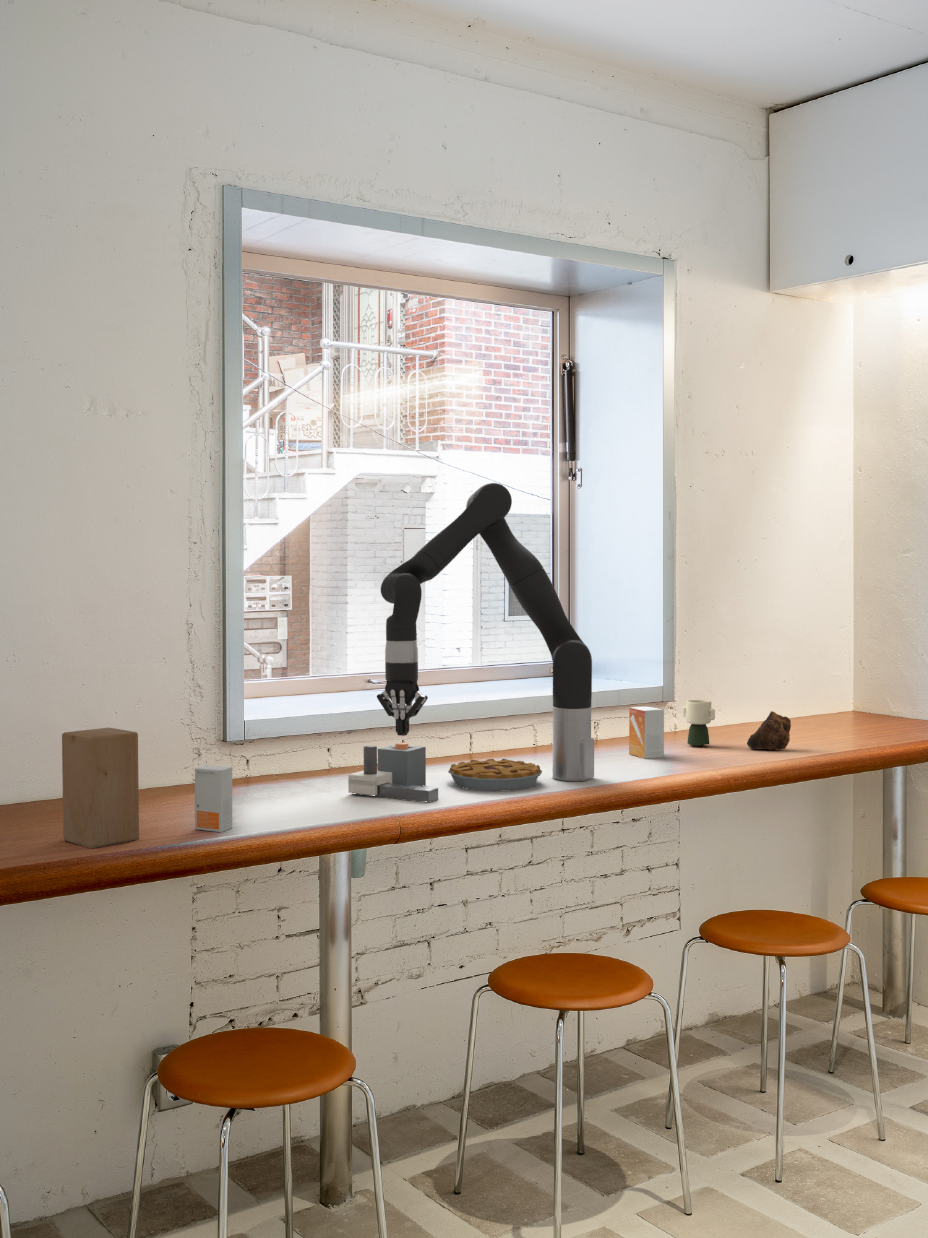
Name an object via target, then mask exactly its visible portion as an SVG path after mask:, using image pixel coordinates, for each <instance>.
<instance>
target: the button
mask: <svg viewBox="0 0 928 1238" xmlns="http://www.w3.org/2000/svg"><path fill="white" fill-rule="evenodd" d="M394 745H395V749H404V750H405V749H408V745H409V743H408V742H397V743H395V744H394Z"/></svg>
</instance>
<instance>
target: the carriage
mask: <svg viewBox="0 0 928 1238" xmlns="http://www.w3.org/2000/svg"><path fill="white" fill-rule="evenodd" d="M347 776H348V781H347V782H348V783H347V784H348V787H347V788H348V793H349V794H350V793H351V794H352V793H358V794H367V795H377V786H378V785H381V784H384V783H392V772H383V771H378V746H377V745H364V746H363V770H361V771H357V772H353V773H350V774H348V775H347Z"/></svg>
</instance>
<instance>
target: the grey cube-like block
mask: <svg viewBox="0 0 928 1238" xmlns="http://www.w3.org/2000/svg"><path fill="white" fill-rule="evenodd" d="M426 749H427V747H426V746H423V745H421V746H420V745H411V744H410V745H409V744H408V749H405V750H404V749H395V744H393V745H392V744H391V745H388V746H384V747H379V748H377V771H383V772H392V783H395V784H405V785H415V786H423V785H425V786H426V784H427V782H426V781H427V778H426V777H427V775H426V774H427V773H426V772H427V771H426V770H427V766H426V765H427V761H426V756H427V753H426Z"/></svg>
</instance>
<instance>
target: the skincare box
mask: <svg viewBox="0 0 928 1238" xmlns="http://www.w3.org/2000/svg"><path fill="white" fill-rule="evenodd" d="M231 829H233V766H225V765H209V764H208V765H201V766H197V767H195V768H194V830H198V831H199V830H200V831H206V832H207V831H208V832H216V833H223V832H225V831H228V830H231Z"/></svg>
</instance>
